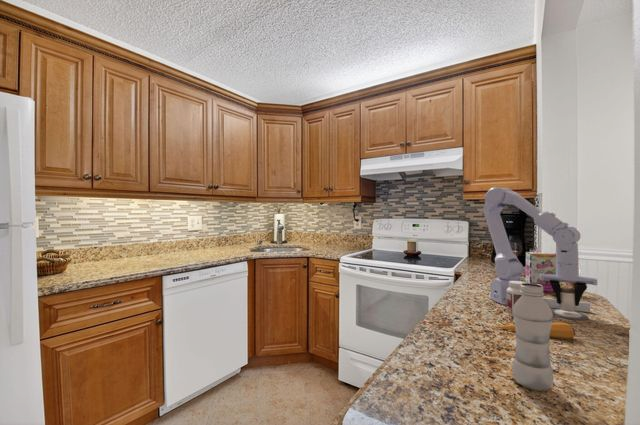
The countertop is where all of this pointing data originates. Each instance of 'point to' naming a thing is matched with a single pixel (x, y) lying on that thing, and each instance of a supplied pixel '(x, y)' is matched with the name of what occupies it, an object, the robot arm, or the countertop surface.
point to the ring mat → (569, 314)
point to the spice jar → (567, 299)
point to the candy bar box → (540, 268)
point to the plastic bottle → (532, 339)
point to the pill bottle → (513, 295)
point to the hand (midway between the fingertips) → (567, 304)
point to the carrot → (553, 330)
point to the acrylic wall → (582, 305)
